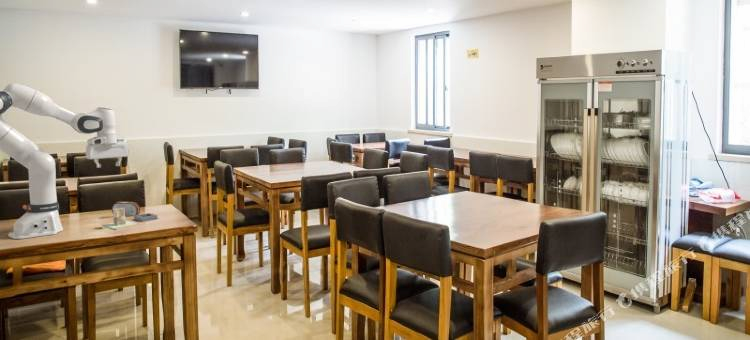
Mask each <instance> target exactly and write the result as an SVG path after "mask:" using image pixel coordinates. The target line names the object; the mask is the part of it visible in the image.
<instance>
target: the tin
mask: <svg viewBox="0 0 750 340" xmlns="http://www.w3.org/2000/svg"><path fill="white" fill-rule="evenodd" d="M115 208H124V209H125V217H126V216H127V217H128V216H129V217H132V216H133V217H134V216H135V215H140V213H141V207H140V205H139V204H138V203H137V202H134V201H116V202H114V204H112V206H111V212H112V213H113V209H115Z"/></svg>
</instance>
